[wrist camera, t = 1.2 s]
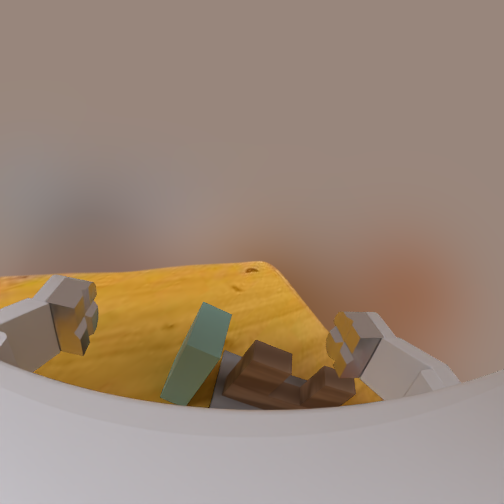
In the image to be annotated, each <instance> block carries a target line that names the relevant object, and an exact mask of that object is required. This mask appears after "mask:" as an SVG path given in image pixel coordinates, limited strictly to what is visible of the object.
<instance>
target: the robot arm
mask: <svg viewBox="0 0 504 504" xmlns="http://www.w3.org/2000/svg"><path fill="white" fill-rule="evenodd" d="M96 295H97V292H96V285H95V284H94V282H89V281H84V280H80V279H75V278H70V277H66V276H61V275H52V277H51V278H50V279H49V280H48V281H47V282H46V283H45V284H44V286H43V287H42V288H41V289H40V290H39V291H38V292H37V294H36V295H35V296H34V297H33V298H32V299H31V298H27V299H24V300H22V301H19V302H17V303H14V304H12V305H9V306H7V307H4V308H2V309H0V504H504V369H503V370H500V371H497V372H495V373H492V374H489V375H486V376H483V377H480V378H477V379H474V380H471V381H467V382H464V383H461V382H460V381H459V379H458V378H457V377H456V376H455V374H454V373H453V372H452V371H451V369H450V368H449V367H448V365H446V364H444V363H443V362H441V361H439V360H437V359H436V358H434V357H432V356H431V355H429V354H427V353H425V352H424V351H422V350H420V349H418V348H416V347H415V346H413V345H411V344H409V343H408V342H406V341H404V340H403V339H401V338H396V336H395V335H394V334H393V333H392V331H391V330H390V329H389V327H388V326H387V325H386V324H385V322H384V321H383V320H382V318H381V317H380V316H379V315H378V314H377V313H375V312H338V314H337V315H336V317H335V319H334V324H335V327H334V328H333V329H332V330H330V331H329V334H328V336H327V339H326V350H327V353H328V355H329V357H330V358H332V359H333V360H335V362H334V364H333V366H334V368H335V370H336V372H337V374H338V377H339V378H360V379H361V380H362V381H363V382H364V383H365V384H366V385H367V386H369V387H370V388H371V389H372V390H373V391H374V392H375V393H377V394H378V395H379V396H380V397H381V398H382V399H383V400H385V401H379V402H372V403H365V404H357V405H348V406H339V407H327V408H313V409H293V410H237V409H216V408H202V407H191V406H181V405H173V404H165V403H158V402H151V401H144V400H138V399H133V398H127V397H122V396H117V395H112V394H107V393H103V392H98V391H94V390H90V389H86V388H82V387H78V386H74V385H71V384H67V383H64V382H60V381H57V380H53V379H50V378H47V377H44V376H41V375H38V374H35V373H32V372H34V371H35V370H37V369H38V368H39V367H41V366H42V365H43V364H45V363H46V362H47V361H49V360H50V359H52V358H53V357H54V356H56V355H57V354H59V353H60V351H63V352H67V353H72V354H76V355H81V356H84V354H85V351H86V349H87V347H88V345H89V343H90V341H89V336H90V335H92V334H94V332H95V330H96V327H97V322H98V306H97V304H96V303H95V302H94V298H95V297H96Z"/></svg>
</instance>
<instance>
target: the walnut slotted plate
mask: <svg viewBox="0 0 504 504" xmlns="http://www.w3.org/2000/svg"><path fill="white" fill-rule="evenodd" d="M291 374H292V354H291V353H289V352H286V351H283V350H281V349H278V348H276V347H273V346H271V345H268V344H266V343H263V342H261V341H258V340H255V342H254V343H253V344H252V345H251V347H250V348H249V349H248V350H247V352H246V353H245V354H244V356H243V357H241V356H238V355H236V354H233V353H231V352H228V351H226V350H225V351H224V353H223V357H222V361H221V365H220V369H219V373H218V377H217V380H216V384H215V388H214V392H213V396H212V400H211V404H210V408H216V409H237V410H293V409H313V408H327V407H339V406H340V405H342V404H343V403H345V402H346V401H347V400H349V399H350V398H351V397H353V396H354V395H355V394H356V391H355V383H354V378H339V377H338V374H337V372H336V370H335V369H333V368H330V367H327V366H323V367H322V368H321V369H320V370H319V371H318V372H317V373H316V374H315V375H314V376H312V377H311V378H310V379H309V380H308V381H307V380H304V379H301V378H298V377H295V376H292V375H291Z"/></svg>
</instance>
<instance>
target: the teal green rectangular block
mask: <svg viewBox="0 0 504 504" xmlns="http://www.w3.org/2000/svg"><path fill="white" fill-rule="evenodd" d="M231 316H232V314H229V313H227V312H225V311H223V310H220V309H218V308H216V307H214V306H212V305H210V304H207V303H205V302H203V304H202V306H201V308H200V310H199V312H198V314H197V316H196V318H195V320H194V322H193V324H192V326H191V328H190V330H189V332H188V334H187V336H186V338H185V340H184V342H183V344H182V346H181V348H180V350H179V352H178V354H177V356H176V358H175V360H174V362H173V365H172V367H171V370H170V373H169V375H168V378H167V380H166V383H165V385H164V388H163V390H162V393H161V396H160V398H163V399H165V400H167V401H170V402H172V403H174V404H177V405H181V406H186V405H187V404H188V403H189V401H190V400H191V398H192V397H193V396H194V394H195V393H196V392H197V390H198V389H199V387H200V386H201V385H202V383H203V382H204V381H205V379H206V378H207V376H208V375H209V374H210V372H211V371H212V369H213V368H214V367H215V365H216V364H217V362H218V361H219V359H220V357H221V354H222V350H223V346H224V342H225V338H226V335H227V331H228V327H229V323H230V319H231Z"/></svg>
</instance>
